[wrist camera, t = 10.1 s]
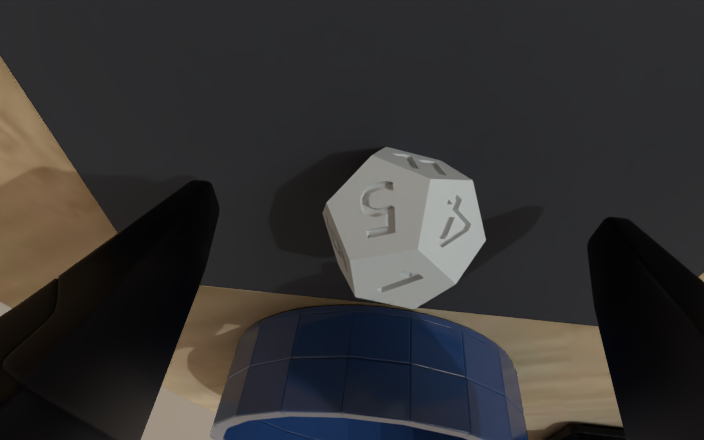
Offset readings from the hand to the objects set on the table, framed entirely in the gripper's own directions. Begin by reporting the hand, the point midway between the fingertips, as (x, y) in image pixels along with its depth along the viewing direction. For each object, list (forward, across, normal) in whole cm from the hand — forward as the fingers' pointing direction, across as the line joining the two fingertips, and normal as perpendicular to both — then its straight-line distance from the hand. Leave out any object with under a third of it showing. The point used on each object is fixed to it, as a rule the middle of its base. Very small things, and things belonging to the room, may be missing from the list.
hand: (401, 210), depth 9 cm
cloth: (+1, 0, 0) cm, 1 cm away
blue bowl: (+1, 0, +14) cm, 14 cm away
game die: (+1, 0, 0) cm, 1 cm away
